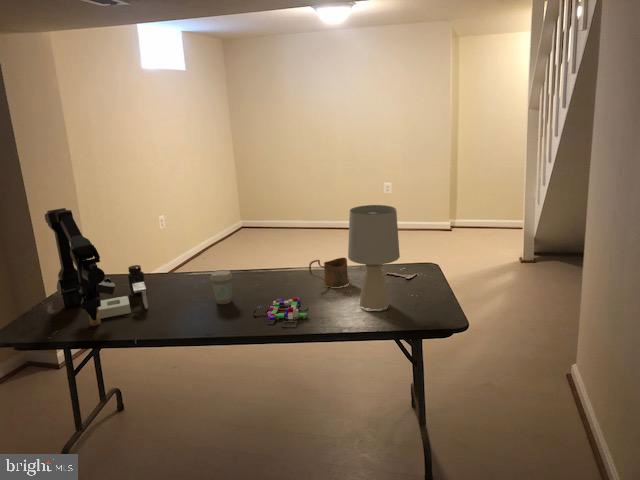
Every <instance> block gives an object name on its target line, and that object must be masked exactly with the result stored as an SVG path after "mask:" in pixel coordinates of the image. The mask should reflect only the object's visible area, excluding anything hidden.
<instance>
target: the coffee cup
mask: <svg viewBox="0 0 640 480" xmlns="http://www.w3.org/2000/svg"><path fill="white" fill-rule="evenodd" d="M232 278H233V274H232V272H231V270H227V269H219V270H218V269H217V270H214V271H213V272H211V275H210V282H211V284H212V288H213V292H214V298H215V303H216V304H218V305H226V304H227V305H228V304H230V303H231V302H232V287H233V286H232V280H233V279H232Z"/></svg>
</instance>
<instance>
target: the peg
mask: <svg viewBox="0 0 640 480" xmlns="http://www.w3.org/2000/svg"><path fill="white" fill-rule="evenodd" d="M88 319H89V324H90V326H92V327H94V326H95V327H96V326H98V325H101V324H102V320H101V319H100V314H99V308H98V307H97V318H96V320H93V319H92V318H91V317H90V315H89V314H88Z"/></svg>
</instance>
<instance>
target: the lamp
mask: <svg viewBox="0 0 640 480" xmlns="http://www.w3.org/2000/svg"><path fill="white" fill-rule="evenodd" d="M348 222H349V223H348V245H347V246H348V249H347V258H348V260H349V261H351V262H353V263H356V264H361V265H365V268H366V271H365V274H364V276H363V279H362V283H361V289H360V295H359V299H360V300H359V306H360V305H361V306H362V307H364V308H370V309H380V308H384V307H387V306H388V305H389V304H390V296H389V291H388V284H387V280H386V277H385V274H384V272H383V271H382V269H381V268H382V266H383V265H386V264H387V265H388V264H390V263H393V262H396V261H398V260H399V259H400V257H401V256H400V244H399V243H400V242H399V241H400V240H399V228H398V214H397V208H396V207H394V206H390V205H382V204H368V205H359V206H355V207H352V208H350V210H349V219H348Z"/></svg>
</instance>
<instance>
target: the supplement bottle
mask: <svg viewBox="0 0 640 480" xmlns="http://www.w3.org/2000/svg"><path fill="white" fill-rule="evenodd" d="M126 278H127V284H128V291H129V295H130V296H131V297H142V292H137V293H134V290H133V286H132V284H134V283H140V282H144V284H145V287H146V294H147V292H148V289H147V283H146V277H145V273H144V272H143V271H142V268H141V265H140V264H139V265H138V264H134V265H130V266H129V267H128V273H127V277H126Z"/></svg>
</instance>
